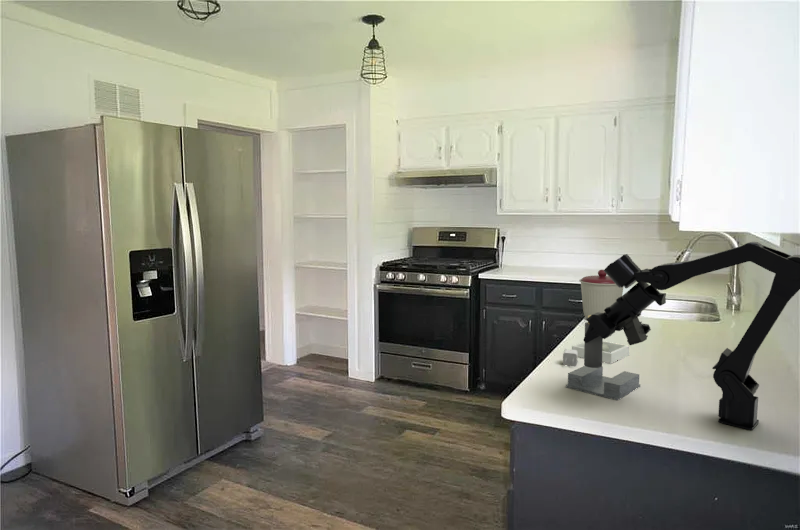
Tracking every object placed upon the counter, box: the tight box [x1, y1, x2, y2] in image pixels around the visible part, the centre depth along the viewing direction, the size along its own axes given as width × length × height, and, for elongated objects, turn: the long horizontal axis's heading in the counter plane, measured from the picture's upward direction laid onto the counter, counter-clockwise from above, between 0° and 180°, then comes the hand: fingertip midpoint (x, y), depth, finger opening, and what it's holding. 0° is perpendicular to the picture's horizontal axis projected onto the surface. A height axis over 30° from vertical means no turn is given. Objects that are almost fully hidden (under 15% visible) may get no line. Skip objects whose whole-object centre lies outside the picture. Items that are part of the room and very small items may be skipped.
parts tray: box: [571, 340, 630, 365], centre depth 173 cm, size 13×13×3 cm
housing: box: [565, 365, 641, 401], centre depth 144 cm, size 14×14×4 cm
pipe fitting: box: [602, 344, 609, 352], centre depth 174 cm, size 8×4×7 cm
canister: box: [579, 269, 624, 320], centre depth 225 cm, size 18×18×21 cm
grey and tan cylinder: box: [583, 315, 604, 368], centre depth 140 cm, size 4×4×13 cm
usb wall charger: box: [562, 348, 579, 367], centre depth 164 cm, size 4×7×4 cm, turn 159°
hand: (588, 339), depth 141 cm, fingers closed on grey and tan cylinder, 4 cm apart
